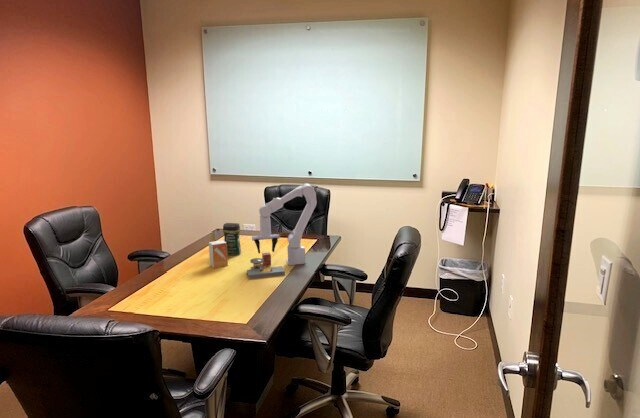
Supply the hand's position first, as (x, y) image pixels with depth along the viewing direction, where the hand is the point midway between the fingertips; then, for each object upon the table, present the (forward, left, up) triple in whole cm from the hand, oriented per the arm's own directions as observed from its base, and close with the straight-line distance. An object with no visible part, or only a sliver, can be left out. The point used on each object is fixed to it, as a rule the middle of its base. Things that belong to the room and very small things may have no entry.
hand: (266, 252), depth 231 cm
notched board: (+3, +16, -7) cm, 17 cm away
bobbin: (+6, +7, -7) cm, 11 cm away
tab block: (0, 0, -7) cm, 7 cm away
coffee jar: (+16, -25, -7) cm, 30 cm away
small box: (+25, -6, -7) cm, 27 cm away
